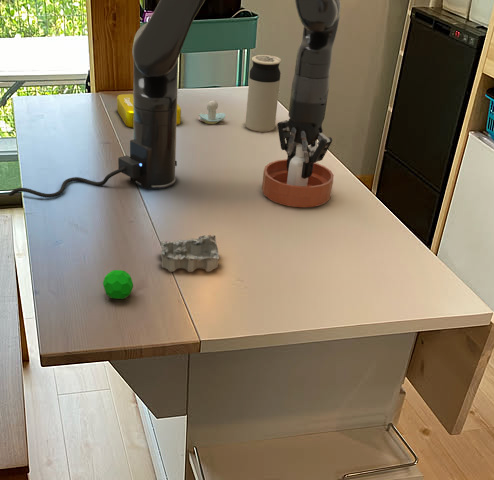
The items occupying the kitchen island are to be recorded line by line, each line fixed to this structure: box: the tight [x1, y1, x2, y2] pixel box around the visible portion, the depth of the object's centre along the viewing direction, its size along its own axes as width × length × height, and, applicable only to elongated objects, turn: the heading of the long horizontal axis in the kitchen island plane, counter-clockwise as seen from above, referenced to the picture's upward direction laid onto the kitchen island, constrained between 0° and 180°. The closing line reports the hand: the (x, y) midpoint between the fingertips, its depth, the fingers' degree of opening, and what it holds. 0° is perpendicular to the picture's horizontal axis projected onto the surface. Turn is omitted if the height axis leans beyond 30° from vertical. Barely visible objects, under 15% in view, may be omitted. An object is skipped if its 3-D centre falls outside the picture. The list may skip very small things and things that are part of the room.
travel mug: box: [244, 54, 282, 133], centre depth 187 cm, size 8×8×18 cm
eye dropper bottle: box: [287, 144, 308, 186], centre depth 155 cm, size 4×6×12 cm
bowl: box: [261, 158, 335, 208], centre depth 157 cm, size 15×15×5 cm
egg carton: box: [160, 234, 220, 273], centre depth 130 cm, size 11×8×4 cm
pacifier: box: [198, 99, 226, 125], centre depth 192 cm, size 7×6×6 cm
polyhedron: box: [102, 269, 134, 300], centre depth 119 cm, size 5×5×5 cm
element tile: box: [116, 93, 182, 129], centre depth 192 cm, size 15×15×5 cm
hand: (298, 173), depth 155 cm, fingers closed on eye dropper bottle, 3 cm apart
